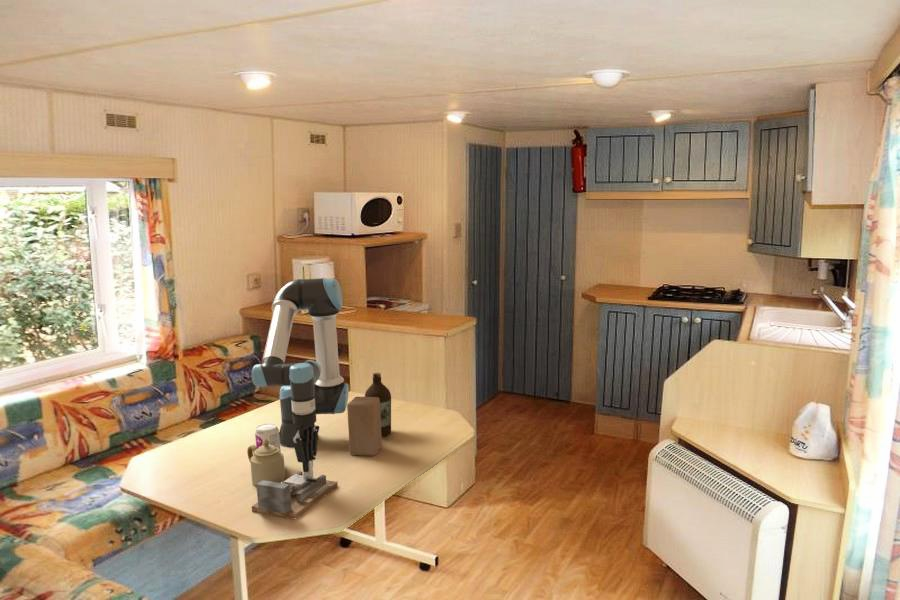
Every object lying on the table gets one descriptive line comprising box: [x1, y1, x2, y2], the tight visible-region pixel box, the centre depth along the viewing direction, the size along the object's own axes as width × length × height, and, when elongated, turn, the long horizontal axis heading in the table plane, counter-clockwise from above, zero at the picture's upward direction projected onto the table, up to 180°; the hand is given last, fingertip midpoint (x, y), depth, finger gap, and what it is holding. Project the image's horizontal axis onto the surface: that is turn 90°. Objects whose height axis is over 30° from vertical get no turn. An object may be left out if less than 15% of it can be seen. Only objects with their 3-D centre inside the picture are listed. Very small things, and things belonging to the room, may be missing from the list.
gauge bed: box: [251, 470, 339, 520], centre depth 217 cm, size 16×24×10 cm, turn 158°
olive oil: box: [364, 372, 392, 438], centre depth 271 cm, size 11×11×25 cm
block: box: [346, 396, 383, 457], centre depth 254 cm, size 10×10×20 cm
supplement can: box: [254, 423, 282, 453], centre depth 242 cm, size 8×8×15 cm
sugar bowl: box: [247, 439, 286, 487], centre depth 231 cm, size 15×11×15 cm
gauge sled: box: [284, 473, 317, 495], centre depth 215 cm, size 10×11×5 cm
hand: (308, 479), depth 224 cm, fingers closed
